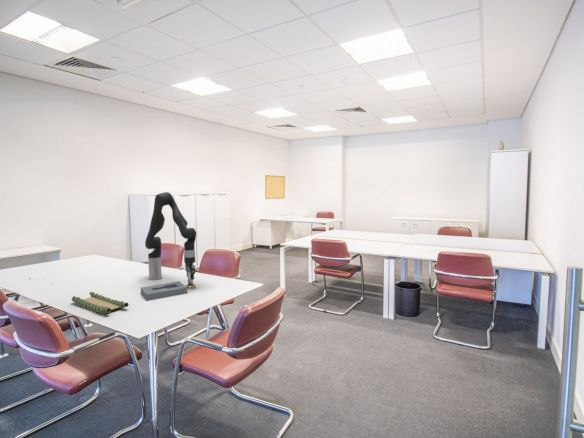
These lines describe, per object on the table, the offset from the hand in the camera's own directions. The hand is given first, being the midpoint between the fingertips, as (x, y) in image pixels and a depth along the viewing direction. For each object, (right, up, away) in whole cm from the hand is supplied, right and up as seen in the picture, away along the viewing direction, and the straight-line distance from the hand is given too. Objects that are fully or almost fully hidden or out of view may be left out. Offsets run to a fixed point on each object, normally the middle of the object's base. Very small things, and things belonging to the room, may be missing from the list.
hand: (190, 278), depth 235 cm
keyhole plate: (-14, -8, -12) cm, 20 cm away
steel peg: (0, -7, +1) cm, 7 cm away
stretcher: (-44, -11, -37) cm, 58 cm away
